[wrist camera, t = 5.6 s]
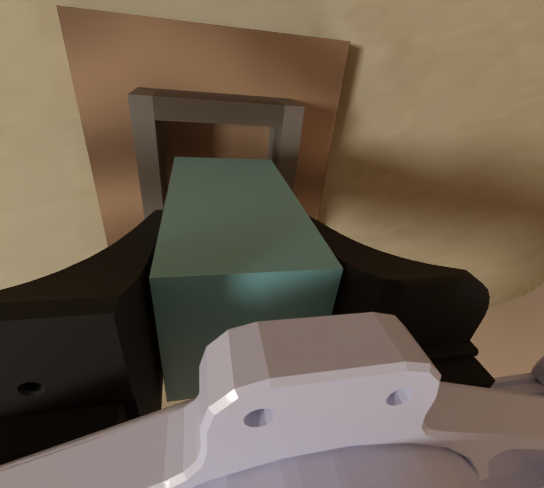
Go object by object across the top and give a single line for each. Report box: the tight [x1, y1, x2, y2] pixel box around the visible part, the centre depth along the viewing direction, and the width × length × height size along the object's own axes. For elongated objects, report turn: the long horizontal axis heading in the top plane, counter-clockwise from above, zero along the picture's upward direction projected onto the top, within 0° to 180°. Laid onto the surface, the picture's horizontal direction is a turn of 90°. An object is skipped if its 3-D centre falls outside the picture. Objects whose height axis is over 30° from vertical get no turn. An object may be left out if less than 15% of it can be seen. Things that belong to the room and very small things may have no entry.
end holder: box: [56, 5, 350, 247], centre depth 18 cm, size 14×14×4 cm
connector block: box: [149, 157, 343, 402], centre depth 11 cm, size 4×4×8 cm
